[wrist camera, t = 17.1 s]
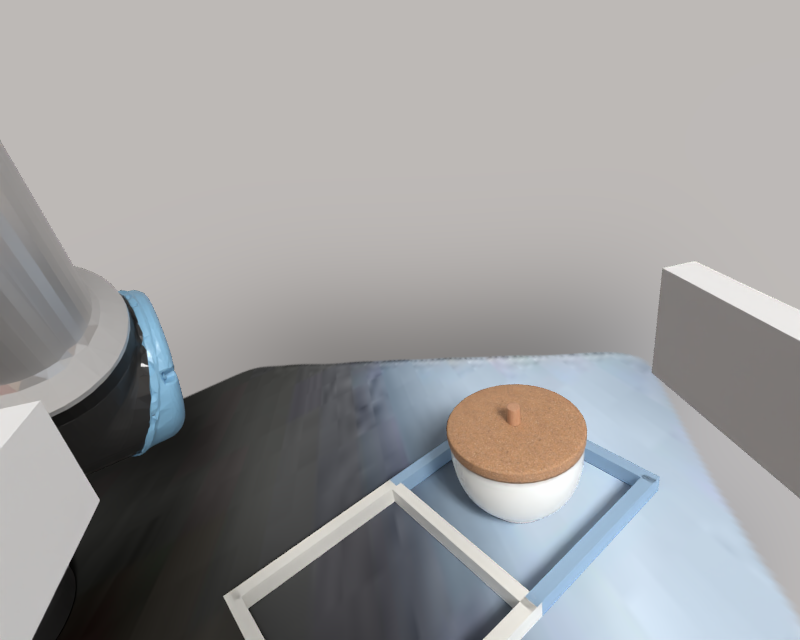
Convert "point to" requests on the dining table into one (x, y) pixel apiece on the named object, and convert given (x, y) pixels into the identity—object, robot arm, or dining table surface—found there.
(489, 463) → the lidded jar
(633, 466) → the blue bezel
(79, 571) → the dining table surface
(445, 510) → the dining table surface
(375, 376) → the dining table surface
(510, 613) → the white square frame
